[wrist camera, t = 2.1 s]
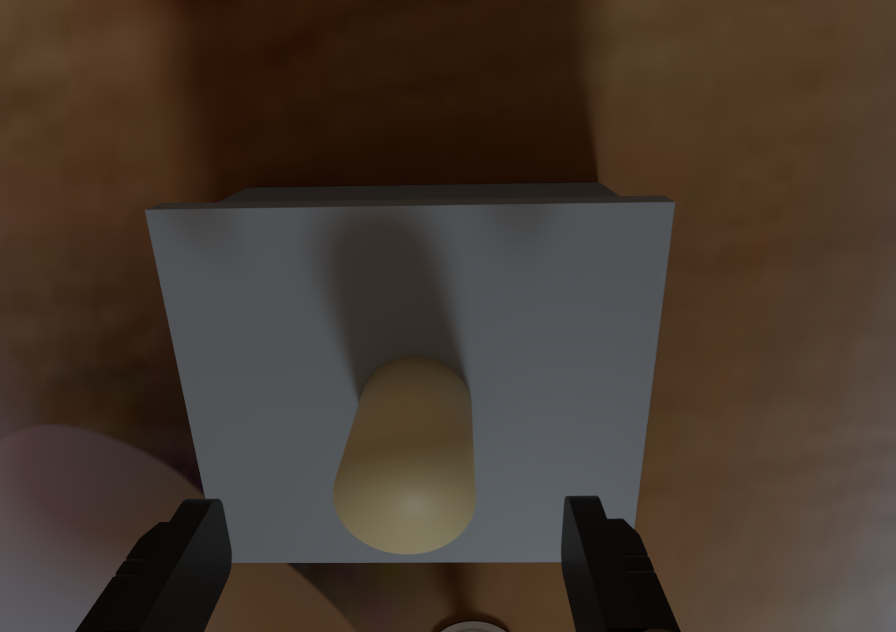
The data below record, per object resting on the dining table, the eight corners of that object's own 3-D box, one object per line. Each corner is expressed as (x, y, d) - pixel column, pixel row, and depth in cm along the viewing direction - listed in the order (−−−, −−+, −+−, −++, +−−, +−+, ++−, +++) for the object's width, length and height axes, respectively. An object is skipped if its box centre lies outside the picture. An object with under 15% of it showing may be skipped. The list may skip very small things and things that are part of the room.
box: (598, 182, 23) (644, 212, 17) (579, 440, 27) (610, 531, 22) (247, 187, 23) (180, 219, 18) (283, 442, 28) (239, 532, 22)
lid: (663, 195, 17) (751, 241, 12) (622, 541, 22) (672, 680, 17) (161, 203, 17) (38, 251, 12) (229, 542, 22) (160, 679, 17)
